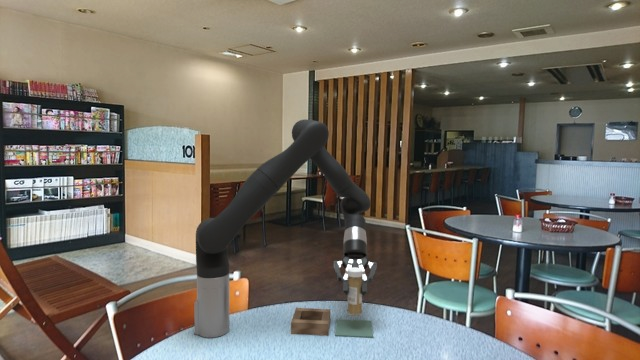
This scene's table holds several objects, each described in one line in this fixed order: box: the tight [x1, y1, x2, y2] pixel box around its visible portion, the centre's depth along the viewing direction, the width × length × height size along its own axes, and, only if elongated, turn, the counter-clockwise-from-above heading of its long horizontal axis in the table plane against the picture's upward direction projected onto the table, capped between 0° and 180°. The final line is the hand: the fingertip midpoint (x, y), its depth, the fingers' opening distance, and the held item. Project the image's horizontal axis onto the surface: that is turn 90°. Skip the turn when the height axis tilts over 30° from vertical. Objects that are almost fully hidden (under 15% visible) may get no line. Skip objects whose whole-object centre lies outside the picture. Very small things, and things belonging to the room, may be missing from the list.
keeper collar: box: [290, 307, 331, 337], centre depth 119 cm, size 11×11×4 cm
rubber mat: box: [334, 318, 374, 339], centre depth 119 cm, size 11×11×1 cm
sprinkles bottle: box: [346, 267, 363, 316], centre depth 118 cm, size 5×5×13 cm
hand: (355, 293), depth 116 cm, fingers closed on sprinkles bottle, 4 cm apart
